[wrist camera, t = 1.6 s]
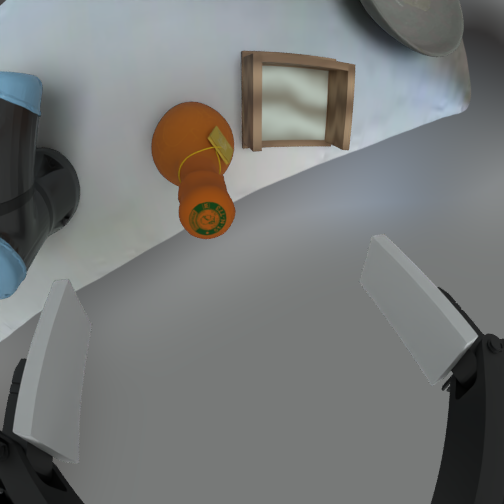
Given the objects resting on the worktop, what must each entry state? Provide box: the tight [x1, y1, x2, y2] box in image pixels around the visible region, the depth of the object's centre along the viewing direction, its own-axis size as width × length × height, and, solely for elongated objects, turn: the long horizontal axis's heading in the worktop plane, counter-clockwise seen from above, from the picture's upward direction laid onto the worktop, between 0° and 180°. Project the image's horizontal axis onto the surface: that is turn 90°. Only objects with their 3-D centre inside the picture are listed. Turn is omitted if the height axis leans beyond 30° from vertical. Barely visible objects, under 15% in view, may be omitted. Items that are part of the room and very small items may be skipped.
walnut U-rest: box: [241, 51, 355, 152], centre depth 37 cm, size 16×16×7 cm
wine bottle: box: [152, 102, 235, 239], centre depth 27 cm, size 10×10×30 cm
